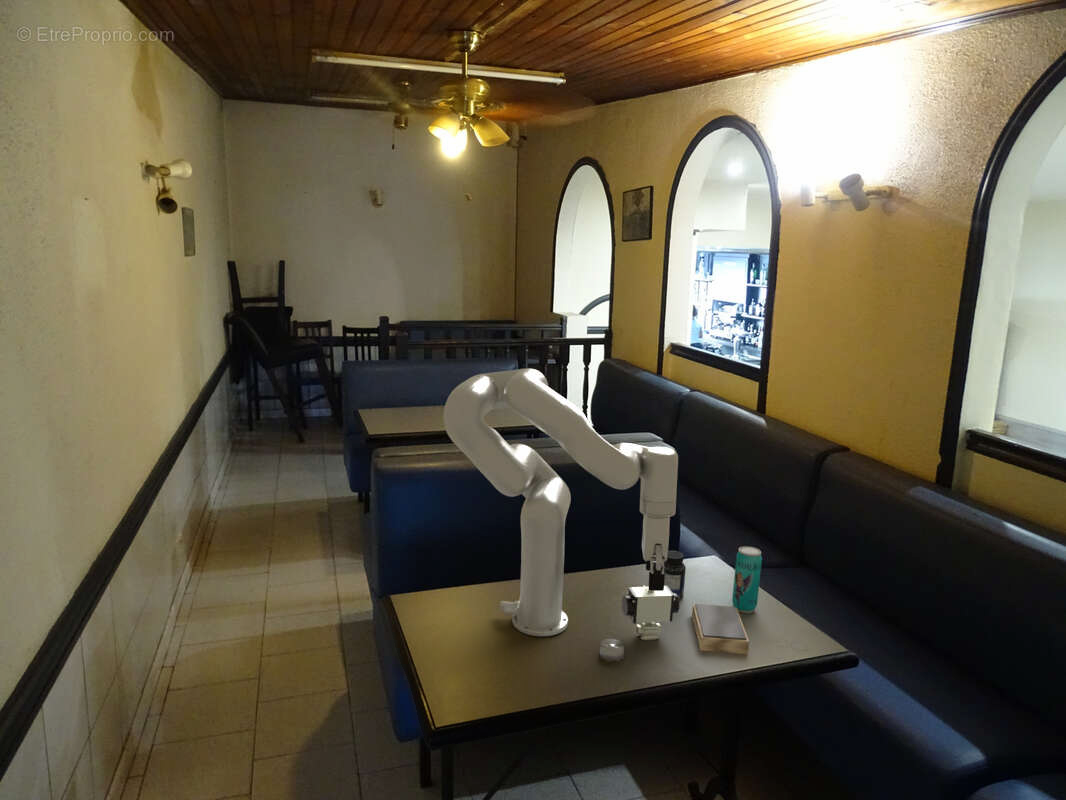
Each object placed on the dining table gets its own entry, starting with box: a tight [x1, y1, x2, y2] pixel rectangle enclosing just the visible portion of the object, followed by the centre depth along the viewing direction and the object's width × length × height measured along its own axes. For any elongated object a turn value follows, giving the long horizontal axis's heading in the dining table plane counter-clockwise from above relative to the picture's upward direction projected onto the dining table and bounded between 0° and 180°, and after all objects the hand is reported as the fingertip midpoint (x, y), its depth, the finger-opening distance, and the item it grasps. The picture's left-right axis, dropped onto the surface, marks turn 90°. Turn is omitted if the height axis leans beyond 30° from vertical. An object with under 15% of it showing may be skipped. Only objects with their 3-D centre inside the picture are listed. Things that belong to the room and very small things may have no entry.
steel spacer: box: [599, 638, 625, 662], centre depth 154 cm, size 5×5×2 cm
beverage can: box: [731, 545, 763, 614], centre depth 174 cm, size 6×6×15 cm
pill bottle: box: [664, 550, 686, 601], centre depth 180 cm, size 6×6×11 cm
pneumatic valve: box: [621, 585, 680, 641], centre depth 161 cm, size 6×12×12 cm, turn 100°
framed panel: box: [691, 603, 750, 655], centre depth 164 cm, size 10×15×3 cm, turn 175°
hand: (654, 579), depth 159 cm, fingers open, 9 cm apart
